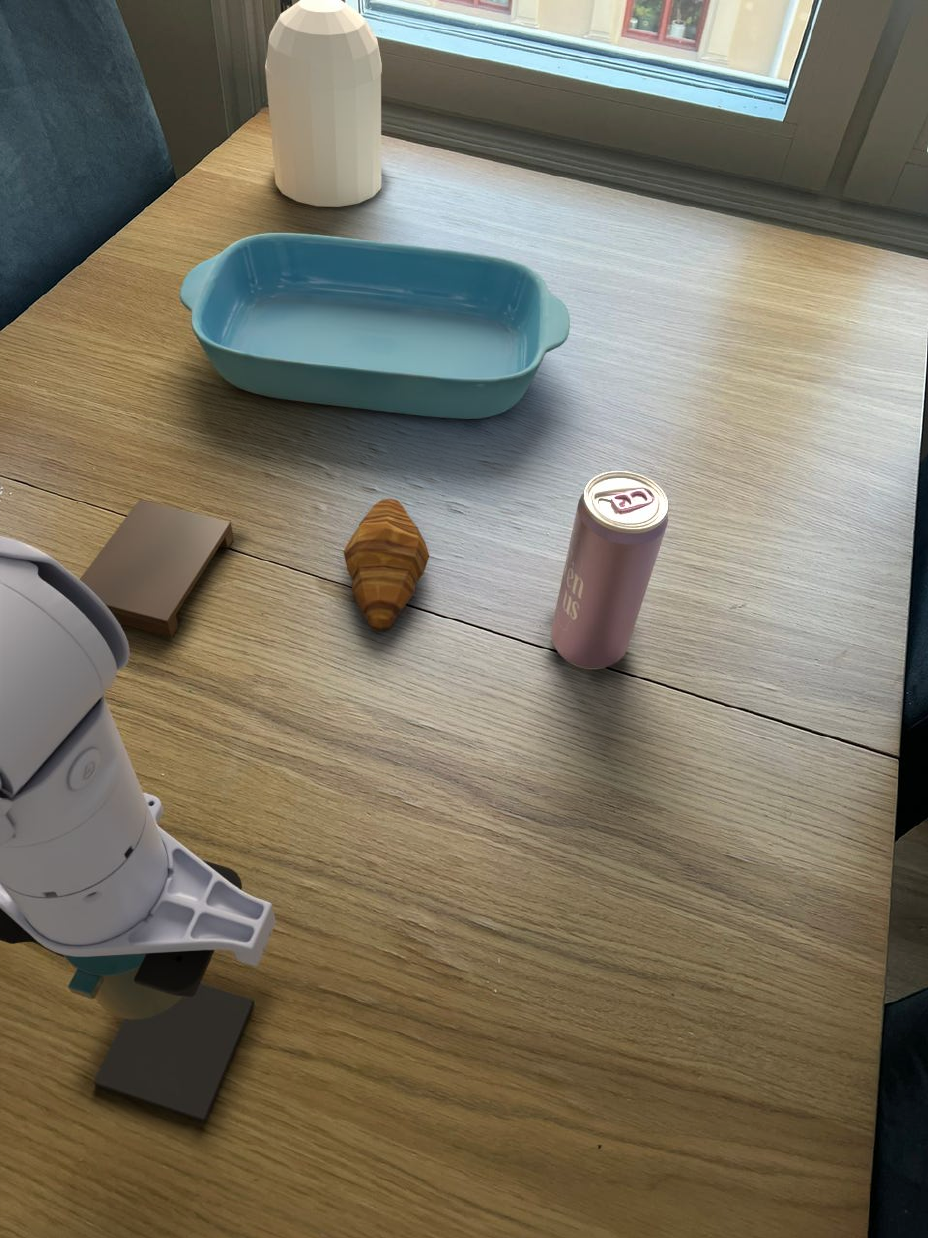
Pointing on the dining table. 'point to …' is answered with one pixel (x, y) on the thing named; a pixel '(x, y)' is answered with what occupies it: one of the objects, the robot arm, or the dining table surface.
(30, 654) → the robot arm
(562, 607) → the beverage can
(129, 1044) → the coaster
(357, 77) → the container
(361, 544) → the croissant
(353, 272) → the casserole dish
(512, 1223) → the dining table surface
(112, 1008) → the teal tabbed cylinder
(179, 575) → the plate
